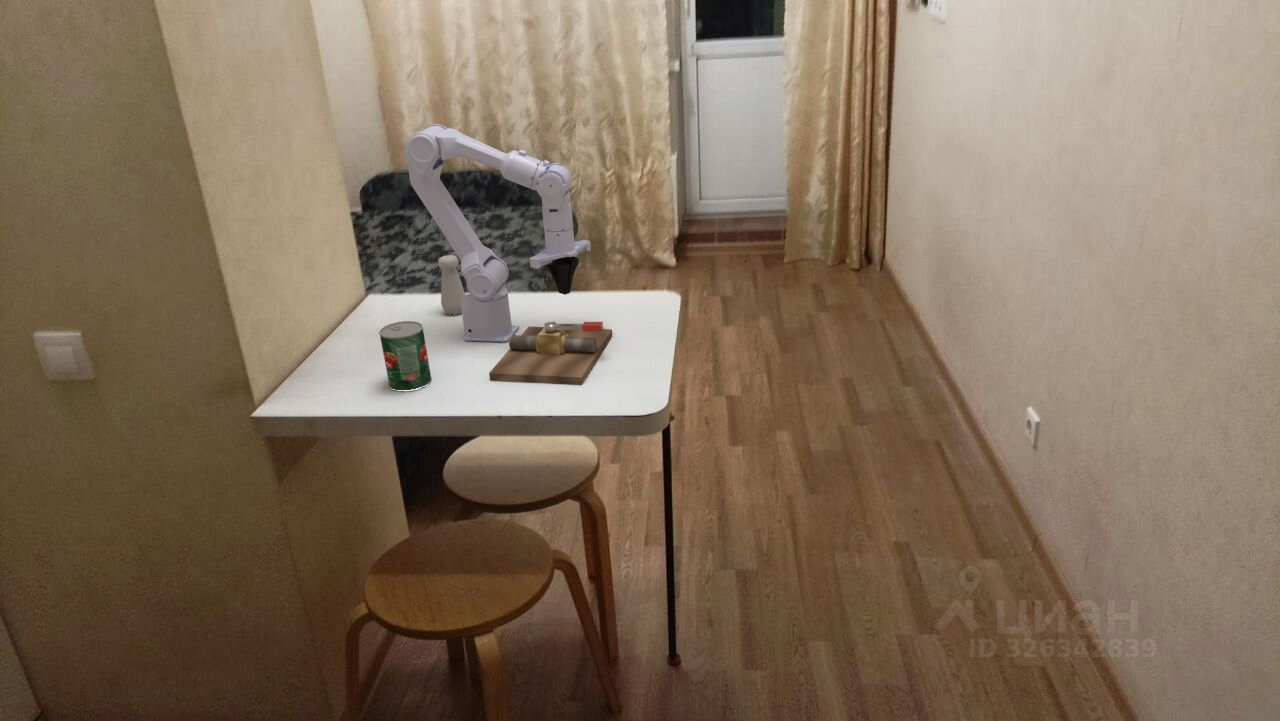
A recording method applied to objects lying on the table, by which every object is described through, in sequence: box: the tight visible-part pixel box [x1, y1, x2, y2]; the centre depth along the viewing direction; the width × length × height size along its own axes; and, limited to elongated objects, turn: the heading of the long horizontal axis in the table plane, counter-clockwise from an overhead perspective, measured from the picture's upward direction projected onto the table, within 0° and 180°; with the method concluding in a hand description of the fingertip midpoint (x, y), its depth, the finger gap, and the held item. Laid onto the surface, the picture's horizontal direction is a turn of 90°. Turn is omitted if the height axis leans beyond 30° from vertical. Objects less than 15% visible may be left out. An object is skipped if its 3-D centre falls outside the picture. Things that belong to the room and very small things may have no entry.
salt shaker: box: [437, 254, 466, 316], centre depth 205 cm, size 6×6×13 cm
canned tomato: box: [379, 320, 433, 390], centre depth 172 cm, size 8×8×11 cm
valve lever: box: [544, 321, 604, 332], centre depth 178 cm, size 2×11×1 cm, turn 84°
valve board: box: [488, 326, 613, 386], centre depth 180 cm, size 18×23×6 cm
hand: (564, 292), depth 187 cm, fingers closed
